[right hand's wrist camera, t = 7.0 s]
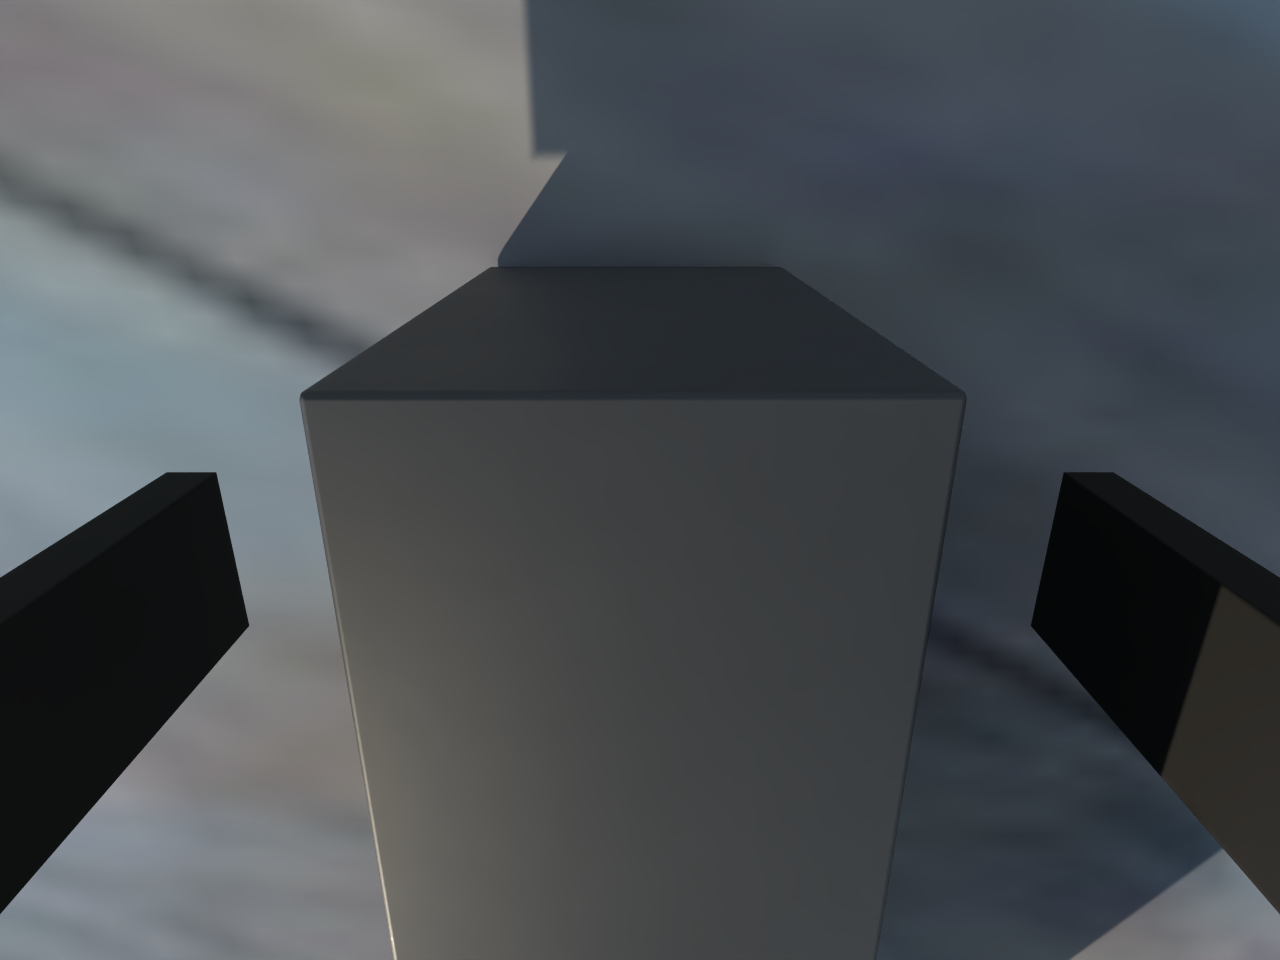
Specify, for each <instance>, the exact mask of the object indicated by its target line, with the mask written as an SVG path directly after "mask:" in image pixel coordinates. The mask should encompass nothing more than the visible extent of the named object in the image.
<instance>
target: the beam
mask: <svg viewBox="0 0 1280 960" xmlns="http://www.w3.org/2000/svg"><path fill="white" fill-rule="evenodd" d="M300 406H301V412H302V418H303V424H304V430H305V435H306V441H307V447H308V453H309V459H310V465H311V471H312V477H313V483H314V489H315V495H316V501H317V507H318V513H319V519H320V525H321V530H322V536H323V542H324V548H325V554H326V560H327V566H328V572H329V578H330V584H331V590H332V596H333V602H334V608H335V614H336V619H337V625H338V631H339V637H340V643H341V649H342V655H343V661H344V667H345V673H346V679H347V685H348V691H349V697H350V703H351V708H352V714H353V720H354V726H355V732H356V738H357V744H358V750H359V756H360V762H361V768H362V774H363V780H364V786H365V792H366V797H367V803H368V809H369V815H370V821H371V827H372V833H373V839H374V845H375V851H376V857H377V863H378V869H379V875H380V881H381V886H382V892H383V898H384V904H385V910H386V916H387V922H388V928H389V934H390V940H391V946H392V952H393V958H394V960H876V956H877V950H878V944H879V938H880V932H881V926H882V919H883V913H884V907H885V901H886V895H887V888H888V882H889V876H890V870H891V864H892V857H893V851H894V845H895V839H896V833H897V827H898V820H899V814H900V808H901V802H902V796H903V789H904V783H905V777H906V771H907V765H908V759H909V752H910V746H911V740H912V734H913V728H914V721H915V715H916V709H917V703H918V697H919V690H920V684H921V678H922V672H923V666H924V660H925V653H926V647H927V641H928V635H929V629H930V622H931V616H932V610H933V604H934V598H935V592H936V585H937V579H938V573H939V567H940V561H941V554H942V548H943V542H944V536H945V530H946V524H947V517H948V511H949V505H950V499H951V493H952V486H953V480H954V474H955V468H956V462H957V455H958V449H959V443H960V437H961V431H962V425H963V418H964V412H965V406H966V395H965V392H963V391H962V390H961V389H959V388H958V387H956V386H955V385H953V384H952V383H950V382H949V381H947V380H946V379H944V378H943V377H941V376H940V375H939V374H937V373H936V372H934V371H933V370H931V369H930V368H928V367H927V366H925V365H924V364H922V363H921V362H919V361H918V360H917V359H915V358H914V357H912V356H911V355H909V354H908V353H906V352H905V351H903V350H902V349H900V348H899V347H897V346H896V345H895V344H893V343H892V342H890V341H889V340H887V339H886V338H884V337H883V336H881V335H880V334H878V333H877V332H875V331H874V330H873V329H871V328H870V327H868V326H867V325H865V324H864V323H862V322H861V321H859V320H858V319H856V318H855V317H853V316H852V315H851V314H849V313H848V312H846V311H845V310H843V309H842V308H840V307H839V306H837V305H836V304H834V303H833V302H831V301H830V300H829V299H827V298H826V297H824V296H823V295H821V294H820V293H818V292H817V291H815V290H814V289H812V288H811V287H809V286H808V285H806V284H805V283H804V282H802V281H801V280H799V279H798V278H796V277H795V276H793V275H792V274H790V273H789V272H787V271H786V270H784V269H783V268H781V267H491V268H489V269H487V270H486V271H484V272H483V273H481V274H480V275H478V276H477V277H475V278H474V279H472V280H471V281H469V282H468V283H466V284H464V285H463V286H461V287H460V288H458V289H457V290H455V291H454V292H452V293H451V294H449V295H448V296H446V297H445V298H443V299H442V300H440V301H439V302H437V303H436V304H434V305H433V306H431V307H430V308H428V309H427V310H425V311H424V312H422V313H421V314H419V315H418V316H416V317H415V318H413V319H412V320H410V321H409V322H407V323H406V324H404V325H403V326H401V327H400V328H398V329H397V330H395V331H394V332H392V333H391V334H389V335H388V336H386V337H385V338H383V339H382V340H380V341H379V342H377V343H376V344H374V345H373V346H371V347H370V348H368V349H367V350H365V351H364V352H362V353H361V354H359V355H358V356H356V357H355V358H353V359H352V360H350V361H349V362H347V363H346V364H344V365H343V366H341V367H339V368H338V369H336V370H335V371H333V372H332V373H330V374H329V375H327V376H326V377H324V378H323V379H321V380H320V381H318V382H317V383H315V384H314V385H312V386H311V387H309V388H308V389H306V390H305V391H303V392H302V393H301V395H300Z"/></svg>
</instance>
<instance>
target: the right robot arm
mask: <svg viewBox="0 0 1280 960" xmlns="http://www.w3.org/2000/svg"><path fill="white" fill-rule="evenodd" d="M248 627H249V623H248V618H247V613H246V609H245V604H244V599H243V595H242V590H241V585H240V581H239V576H238V571H237V567H236V562H235V558H234V553H233V548H232V544H231V539H230V534H229V530H228V525H227V520H226V516H225V511H224V506H223V502H222V497H221V492H220V488H219V483H218V478H217V474H216V472H167V473H165V474H163V475H162V476H160V477H159V478H157V479H156V480H154V481H152V482H151V483H149V484H148V485H146V486H145V487H143V488H141V489H140V490H138V491H137V492H135V493H133V494H132V495H130V496H129V497H127V498H126V499H124V500H122V501H121V502H119V503H118V504H116V505H114V506H113V507H111V508H110V509H108V510H107V511H105V512H103V513H102V514H100V515H99V516H97V517H95V518H94V519H92V520H91V521H89V522H88V523H86V524H84V525H83V526H81V527H80V528H78V529H77V530H75V531H73V532H72V533H70V534H69V535H67V536H65V537H64V538H62V539H61V540H59V541H58V542H56V543H54V544H53V545H51V546H50V547H48V548H46V549H45V550H43V551H42V552H40V553H39V554H37V555H35V556H34V557H32V558H31V559H29V560H27V561H26V562H24V563H23V564H21V565H20V566H18V567H16V568H15V569H13V570H12V571H10V572H9V573H7V574H5V575H4V576H2V577H1V578H0V914H1V913H2V911H3V910H4V909H5V908H6V907H7V906H8V904H9V903H10V902H11V901H12V900H13V899H14V897H15V896H16V895H17V894H18V893H19V892H20V891H21V889H22V888H23V887H24V886H25V885H26V884H27V882H28V881H29V880H30V879H31V878H32V877H33V875H34V874H35V873H36V872H37V871H38V870H39V869H40V867H41V866H42V865H43V864H44V863H45V862H46V860H47V859H48V858H49V857H50V856H51V855H52V853H53V852H54V851H55V850H56V849H57V848H58V847H59V845H60V844H61V843H62V842H63V841H64V840H65V838H66V837H67V836H68V835H69V834H70V833H71V831H72V830H73V829H74V828H75V827H76V826H77V825H78V823H79V822H80V821H81V820H82V819H83V818H84V816H85V815H86V814H87V813H88V812H89V811H90V809H91V808H92V807H93V806H94V805H95V804H96V803H97V801H98V800H99V799H100V798H101V797H102V796H103V794H104V793H105V792H106V791H107V790H108V789H109V787H110V786H111V785H112V784H113V783H114V782H115V781H116V779H117V778H118V777H119V776H120V775H121V774H122V772H123V771H124V770H125V769H126V768H127V767H128V765H129V764H130V763H131V762H132V761H133V760H134V759H135V757H136V756H137V755H138V754H139V753H140V752H141V750H142V749H143V748H144V747H145V746H146V745H147V743H148V742H149V741H150V740H151V739H152V738H153V737H154V735H155V734H156V733H157V732H158V731H159V730H160V728H161V727H162V726H163V725H164V724H165V723H166V721H167V720H168V719H169V718H170V717H171V716H172V715H173V713H174V712H175V711H176V710H177V709H178V708H179V706H180V705H181V704H182V703H183V702H184V701H185V699H186V698H187V697H188V696H189V695H190V694H191V693H192V691H193V690H194V689H195V688H196V687H197V686H198V684H199V683H200V682H201V681H202V680H203V679H204V677H205V676H206V675H207V674H208V673H209V672H210V671H211V669H212V668H213V667H214V666H215V665H216V664H217V662H218V661H219V660H220V659H221V658H222V657H223V655H224V654H225V653H226V652H227V651H228V650H229V649H230V647H231V646H232V645H233V644H234V643H235V642H236V640H237V639H238V638H239V637H240V636H241V635H242V633H243V632H244V631H245V630H246V629H247V628H248ZM1031 627H1032V628H1033V629H1034V630H1035V631H1036V632H1037V633H1038V635H1039V636H1040V637H1041V638H1042V639H1043V640H1044V642H1045V643H1046V644H1047V645H1048V646H1049V647H1050V649H1051V650H1052V651H1053V652H1054V653H1055V654H1056V655H1057V657H1058V658H1059V659H1060V660H1061V661H1062V662H1063V664H1064V665H1065V666H1066V667H1067V668H1068V669H1069V671H1070V672H1071V673H1072V674H1073V675H1074V676H1075V677H1076V679H1077V680H1078V681H1079V682H1080V683H1081V684H1082V686H1083V687H1084V688H1085V689H1086V690H1087V691H1088V693H1089V694H1090V695H1091V696H1092V697H1093V698H1094V699H1095V701H1096V702H1097V703H1098V704H1099V705H1100V706H1101V708H1102V709H1103V710H1104V711H1105V712H1106V713H1107V715H1108V716H1109V717H1110V718H1111V719H1112V720H1113V721H1114V723H1115V724H1116V725H1117V726H1118V727H1119V728H1120V730H1121V731H1122V732H1123V733H1124V734H1125V735H1126V737H1127V738H1128V739H1129V740H1130V741H1131V742H1132V743H1133V745H1134V746H1135V747H1136V748H1137V749H1138V750H1139V752H1140V753H1141V754H1142V755H1143V756H1144V757H1145V759H1146V760H1147V761H1148V762H1149V763H1150V764H1151V765H1152V767H1153V768H1154V769H1155V770H1156V771H1157V772H1158V774H1159V775H1160V776H1161V777H1162V778H1163V779H1164V781H1165V782H1166V783H1167V784H1168V785H1169V786H1170V787H1171V789H1172V790H1173V791H1174V792H1175V793H1176V794H1177V796H1178V797H1179V798H1180V799H1181V800H1182V801H1183V803H1184V804H1185V805H1186V806H1187V807H1188V808H1189V809H1190V811H1191V812H1192V813H1193V814H1194V815H1195V816H1196V818H1197V819H1198V820H1199V821H1200V822H1201V823H1202V825H1203V826H1204V827H1205V828H1206V829H1207V830H1208V831H1209V833H1210V834H1211V835H1212V836H1213V837H1214V838H1215V840H1216V841H1217V842H1218V843H1219V844H1220V845H1221V847H1222V848H1223V849H1224V850H1225V851H1226V852H1227V853H1228V855H1229V856H1230V857H1231V858H1232V859H1233V860H1234V862H1235V863H1236V864H1237V865H1238V866H1239V867H1240V869H1241V870H1242V871H1243V872H1244V873H1245V874H1246V875H1247V877H1248V878H1249V879H1250V880H1251V881H1252V882H1253V884H1254V885H1255V886H1256V887H1257V888H1258V889H1259V891H1260V892H1261V893H1262V894H1263V895H1264V896H1265V897H1266V899H1267V900H1268V901H1269V902H1270V903H1271V904H1272V906H1273V907H1274V908H1275V909H1276V910H1277V911H1278V913H1279V914H1280V578H1279V577H1278V576H1276V575H1275V574H1273V573H1271V572H1270V571H1268V570H1267V569H1265V568H1264V567H1262V566H1260V565H1259V564H1257V563H1256V562H1254V561H1253V560H1251V559H1249V558H1248V557H1246V556H1245V555H1243V554H1241V553H1240V552H1238V551H1237V550H1235V549H1234V548H1232V547H1230V546H1229V545H1227V544H1226V543H1224V542H1222V541H1221V540H1219V539H1218V538H1216V537H1215V536H1213V535H1211V534H1210V533H1208V532H1207V531H1205V530H1203V529H1202V528H1200V527H1199V526H1197V525H1196V524H1194V523H1192V522H1191V521H1189V520H1188V519H1186V518H1185V517H1183V516H1181V515H1180V514H1178V513H1177V512H1175V511H1173V510H1172V509H1170V508H1169V507H1167V506H1166V505H1164V504H1162V503H1161V502H1159V501H1158V500H1156V499H1154V498H1153V497H1151V496H1150V495H1148V494H1147V493H1145V492H1143V491H1142V490H1140V489H1139V488H1137V487H1135V486H1134V485H1132V484H1131V483H1129V482H1128V481H1126V480H1124V479H1123V478H1121V477H1120V476H1118V475H1117V474H1115V473H1113V472H1064V474H1063V478H1062V483H1061V488H1060V492H1059V497H1058V502H1057V506H1056V511H1055V516H1054V520H1053V525H1052V530H1051V534H1050V539H1049V544H1048V548H1047V553H1046V558H1045V562H1044V567H1043V571H1042V576H1041V581H1040V585H1039V590H1038V595H1037V599H1036V604H1035V609H1034V613H1033V618H1032V623H1031Z"/></svg>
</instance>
